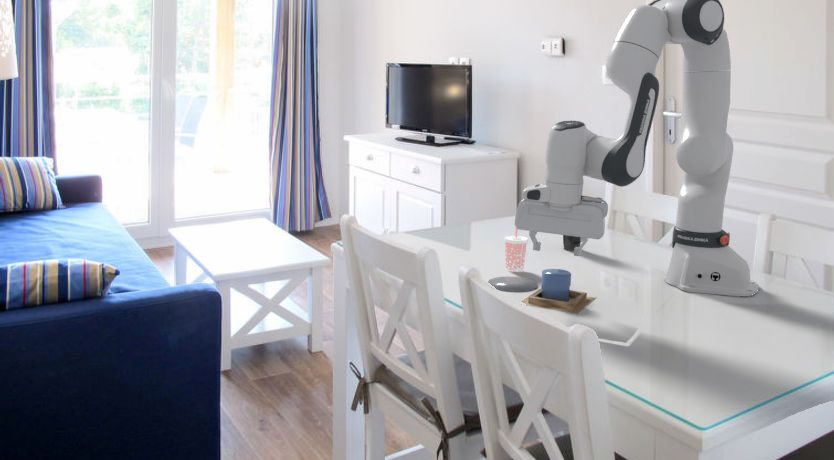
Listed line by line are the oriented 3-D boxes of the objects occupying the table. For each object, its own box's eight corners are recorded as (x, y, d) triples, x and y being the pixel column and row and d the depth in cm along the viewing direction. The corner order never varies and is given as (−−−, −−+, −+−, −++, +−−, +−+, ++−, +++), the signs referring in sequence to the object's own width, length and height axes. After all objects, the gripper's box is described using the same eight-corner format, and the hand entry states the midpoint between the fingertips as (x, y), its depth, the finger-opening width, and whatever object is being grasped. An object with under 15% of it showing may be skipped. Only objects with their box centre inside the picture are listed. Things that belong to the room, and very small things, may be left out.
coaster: (543, 284, 220) (544, 280, 219) (526, 296, 209) (526, 292, 209) (499, 277, 225) (499, 274, 225) (480, 289, 215) (480, 285, 214)
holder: (595, 300, 208) (596, 292, 207) (577, 316, 196) (577, 307, 195) (539, 291, 214) (539, 283, 214) (518, 306, 202) (518, 297, 201)
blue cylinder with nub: (561, 305, 201) (563, 277, 200) (535, 300, 205) (537, 273, 203) (579, 295, 209) (580, 269, 207) (554, 291, 212) (555, 264, 211)
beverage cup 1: (517, 267, 236) (519, 215, 233) (531, 273, 230) (533, 220, 227) (498, 269, 233) (500, 217, 230) (511, 275, 227) (514, 222, 224)
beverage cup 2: (557, 245, 261) (561, 178, 256) (582, 246, 260) (586, 179, 256) (560, 251, 254) (564, 183, 249) (585, 252, 253) (590, 183, 249)
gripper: (610, 196, 199) (604, 255, 202) (521, 186, 205) (516, 244, 209) (607, 201, 193) (600, 262, 197) (515, 190, 199) (510, 250, 203)
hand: (556, 252), depth 203 cm, fingers open, 8 cm apart
